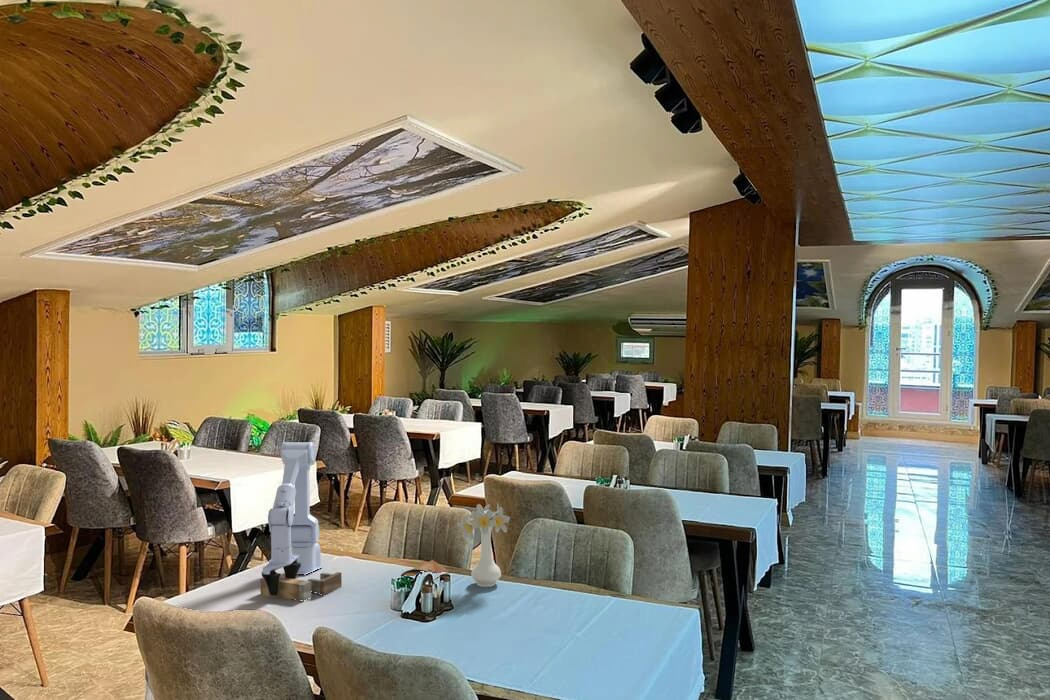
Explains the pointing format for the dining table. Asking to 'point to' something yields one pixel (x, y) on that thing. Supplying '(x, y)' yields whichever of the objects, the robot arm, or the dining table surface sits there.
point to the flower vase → (485, 542)
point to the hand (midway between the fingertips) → (281, 591)
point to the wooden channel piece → (326, 583)
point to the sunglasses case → (426, 569)
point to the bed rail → (289, 589)
